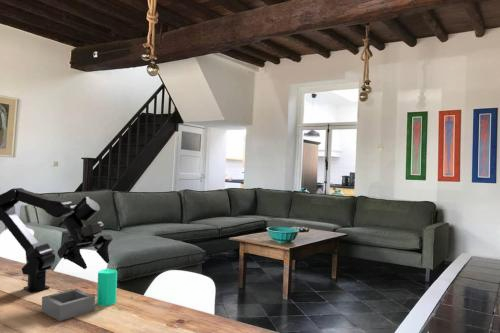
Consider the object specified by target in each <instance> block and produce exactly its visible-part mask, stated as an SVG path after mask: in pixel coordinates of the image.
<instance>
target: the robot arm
mask: <svg viewBox="0 0 500 333" xmlns="http://www.w3.org/2000/svg"><path fill="white" fill-rule="evenodd" d="M19 202H21V203H24V204H27V205H29V206H33V207H35V208H36V207H37V208H39V209H42V210H43V211H44V212H45V213H46V214H48V215H50V216H52V217H53V218H62V217H64V218H63V219H60V220H59V223H58V226H57V227H58V228H65V229H66V231H67V232H68V235H69V236H68V241H64V242H63V243H62V244H61V246H60V247H59V248H58V250H57V256H58V258H59V259H64V260H67V261H69V262H71V263H73V264H75V265H77V266H78V267H80V268H82V269H83V270H86V269H87V268H88V266H87V264H86V261H85V260H84V258H83V256H82V254H81V250H83V249H89V248H93V247H94V249H95V250H96V253H97V254H98V256H100V258H101V259H102V260H103V261H104V262H105V263H106V264H109V263H110V256H109V245H110V244H111V242H113V240H114V238H113V237H112V236H111V234H103V235H102V234H101V233H102V232H103V231H104V230H105V225H104V223H103V222H102V221H97V222H95V223H90V224H88V225H85V223H84V221H85V222H88V221H89V220H91V219H92V218H93V217H94V216H95V215H96V214H97V213H98V212H99V211H100V209H101V208H100V207H101V206H100V205H99V203H98V202H96V201H95V200H93V199H91V198H90V197H89V196H84V197H83V198H82V199H81V200H80V202H78V203H77V204H76V203H73V201H71V200H69V199H64V198H52V197H48V196H45V195H42V194H38V193H36V192H32V191H30V190H27V189H24V188H22V187H17V188H16V187H14V188H11V189H9V190H8V191H5V192H3V193H1V194H0V221H1V222H2V223H3V224H4V226H5V228H7V230H8V231H9V232H10V234H11V235H12V236H13V238H14V239H15V240H16V241H17V242H18V244H19V245H20V246H21V248H22V249H23V250H24V251H25V260H26V262H27V263H26V264H24V265H23V267H22V268H21V272H22V274H23V275H27V286H23V290H25V291H27V292H29V293H34V292H39V291H44V290H47V289H50V286H49V285H46V283H47V282H46V278H47V271H48V270H51V268H52V265H53V264H54V263H55V260H56V255H55V253H54V252H55V250H53V249H52V248H51V245H49V243H48V242H47V243H43V244H42V243H40V242H39V241H38V240H37V239H36V237H35V236H34V235H33V233H31V231H30V230H29V229H28V228H27V226H26V225H25V224H24V222H23V221H22V220H21V219H20V218H19V216H18V215H17V214H16V206H15V205H16V204H18V203H19ZM98 234H101V235H99V236H98V237H97V235H98ZM96 237H97V239H96ZM94 239H96V240H94Z"/></svg>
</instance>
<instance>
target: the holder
mask: <svg viewBox="0 0 500 333" xmlns="http://www.w3.org/2000/svg"><path fill="white" fill-rule="evenodd" d="M95 303H96V295H93V294H91V293H88V292H86V291H83V290H81V289H78V288H73V289H69V290H65V291H61V292H57V293H53V294H48V295H44V296H42V297H41V313H43V314H46V315H47V316H49V317H51V318H53V319H55V320H56V321H59V322H62V321H65V320H68V319H72V318H75V317H78V316H82V315H84V314H88V313H92V312H94V311H95V310H96V308H95V306H96V304H95Z"/></svg>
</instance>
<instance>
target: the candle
mask: <svg viewBox="0 0 500 333" xmlns="http://www.w3.org/2000/svg"><path fill="white" fill-rule="evenodd" d="M117 288H118V271H117V269H111V268H105V269H99V271H97V289H96V290H97V291H96V292H97V293H96V304H97V305H98V306H102V307H104V306H105V307H107V306H113V305H114V304H116V303H117Z"/></svg>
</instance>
